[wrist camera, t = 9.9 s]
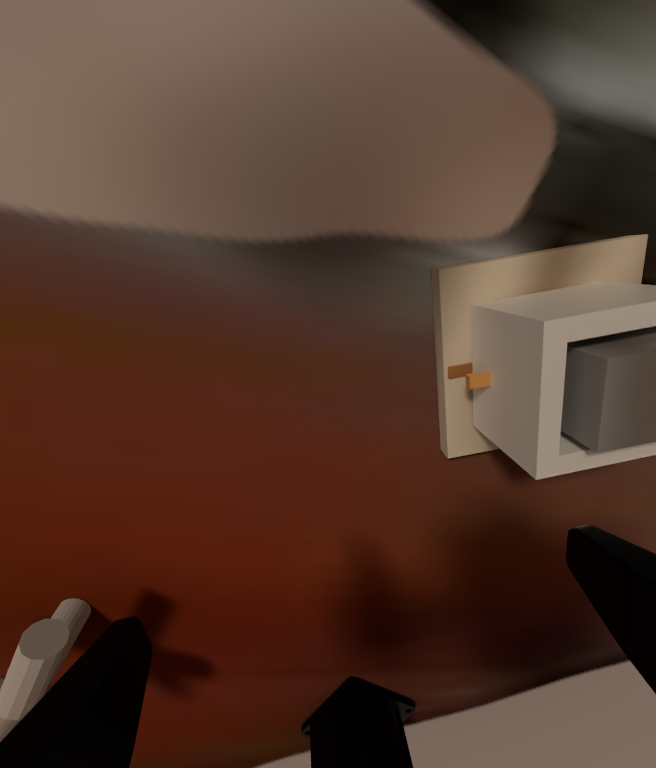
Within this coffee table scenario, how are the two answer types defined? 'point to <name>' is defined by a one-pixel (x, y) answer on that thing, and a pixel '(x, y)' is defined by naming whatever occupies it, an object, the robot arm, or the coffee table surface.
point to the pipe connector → (39, 661)
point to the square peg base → (584, 357)
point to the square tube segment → (546, 369)
